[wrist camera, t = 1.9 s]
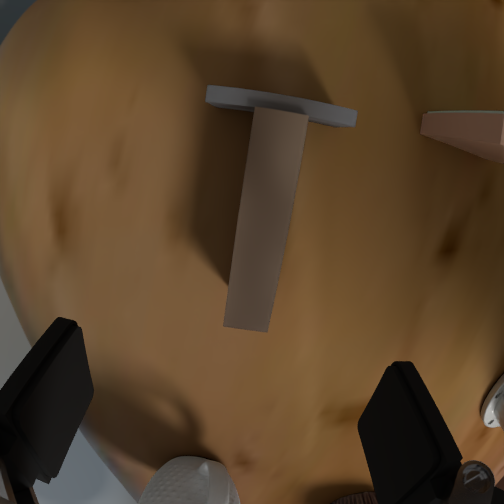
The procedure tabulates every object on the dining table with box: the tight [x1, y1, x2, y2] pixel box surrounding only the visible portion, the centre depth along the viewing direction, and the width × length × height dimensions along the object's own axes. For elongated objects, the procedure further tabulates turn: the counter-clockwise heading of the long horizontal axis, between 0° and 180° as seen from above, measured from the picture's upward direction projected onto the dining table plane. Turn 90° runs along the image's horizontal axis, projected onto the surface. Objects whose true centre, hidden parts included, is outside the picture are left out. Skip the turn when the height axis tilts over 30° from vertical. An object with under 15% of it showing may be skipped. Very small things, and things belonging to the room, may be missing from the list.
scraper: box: [205, 85, 358, 332], centre depth 17 cm, size 7×12×4 cm, turn 171°
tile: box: [420, 110, 504, 164], centre depth 13 cm, size 6×2×8 cm, turn 82°
